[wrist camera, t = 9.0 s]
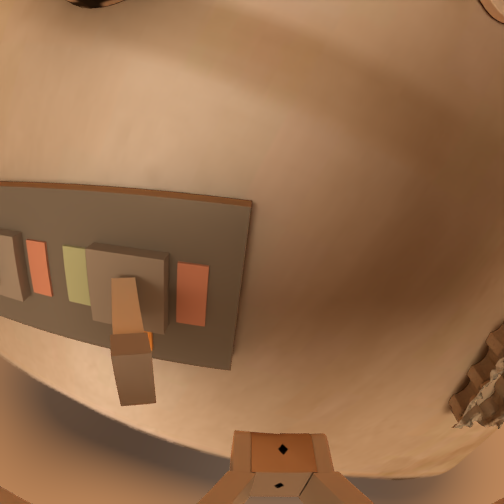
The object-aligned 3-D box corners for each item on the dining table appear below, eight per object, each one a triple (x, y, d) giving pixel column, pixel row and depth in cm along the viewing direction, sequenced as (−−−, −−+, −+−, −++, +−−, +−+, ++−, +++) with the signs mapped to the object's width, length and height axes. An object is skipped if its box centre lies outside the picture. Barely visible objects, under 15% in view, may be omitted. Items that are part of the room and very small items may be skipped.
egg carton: (482, 406, 23) (497, 432, 19) (434, 409, 23) (450, 441, 19) (537, 321, 19) (561, 345, 15) (497, 313, 19) (524, 341, 15)
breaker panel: (252, 200, 16) (250, 212, 14) (232, 355, 20) (229, 381, 17) (-81, 181, 15) (-99, 188, 13) (-67, 277, 19) (-82, 287, 17)
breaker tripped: (136, 275, 15) (151, 353, 10) (139, 319, 16) (156, 403, 11) (109, 276, 14) (111, 356, 9) (113, 321, 15) (121, 406, 10)
